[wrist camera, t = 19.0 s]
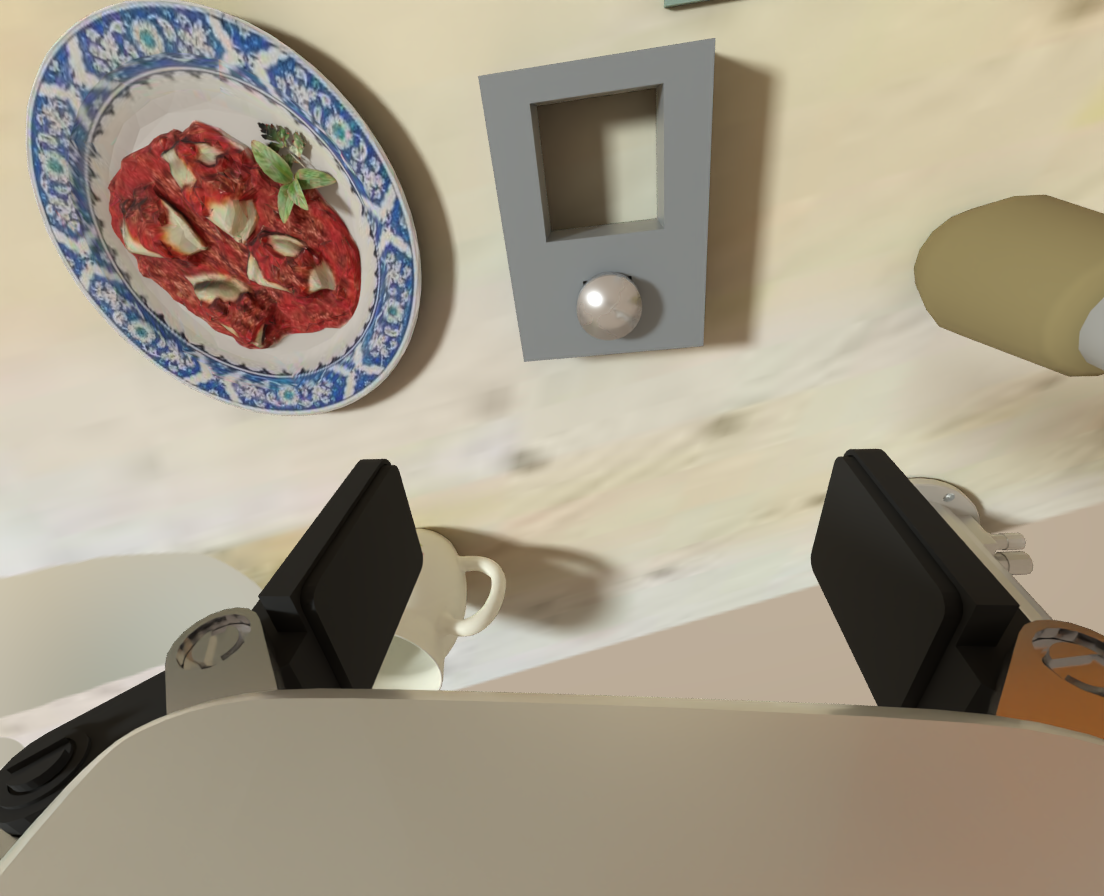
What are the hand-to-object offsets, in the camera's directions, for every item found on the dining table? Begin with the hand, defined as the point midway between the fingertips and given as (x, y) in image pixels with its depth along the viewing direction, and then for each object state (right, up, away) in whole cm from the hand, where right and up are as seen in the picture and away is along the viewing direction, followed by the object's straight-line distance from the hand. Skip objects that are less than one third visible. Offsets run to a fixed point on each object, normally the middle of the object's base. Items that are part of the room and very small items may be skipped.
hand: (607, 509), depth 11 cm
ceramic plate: (-23, +16, +25) cm, 37 cm away
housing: (+2, +17, +22) cm, 28 cm away
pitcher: (-13, -9, +40) cm, 43 cm away
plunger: (+3, +12, +24) cm, 27 cm away
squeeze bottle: (+26, +14, +22) cm, 36 cm away
